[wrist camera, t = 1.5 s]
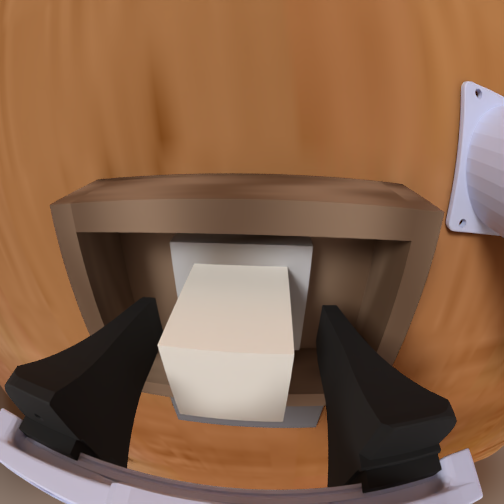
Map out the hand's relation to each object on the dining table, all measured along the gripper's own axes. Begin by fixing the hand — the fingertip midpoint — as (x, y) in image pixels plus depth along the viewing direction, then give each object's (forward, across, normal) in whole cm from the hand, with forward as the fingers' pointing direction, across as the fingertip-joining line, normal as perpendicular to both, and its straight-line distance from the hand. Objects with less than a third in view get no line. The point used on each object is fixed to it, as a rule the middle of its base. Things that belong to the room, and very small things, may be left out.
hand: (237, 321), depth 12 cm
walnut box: (+3, 0, 0) cm, 3 cm away
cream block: (+1, 0, 0) cm, 1 cm away
